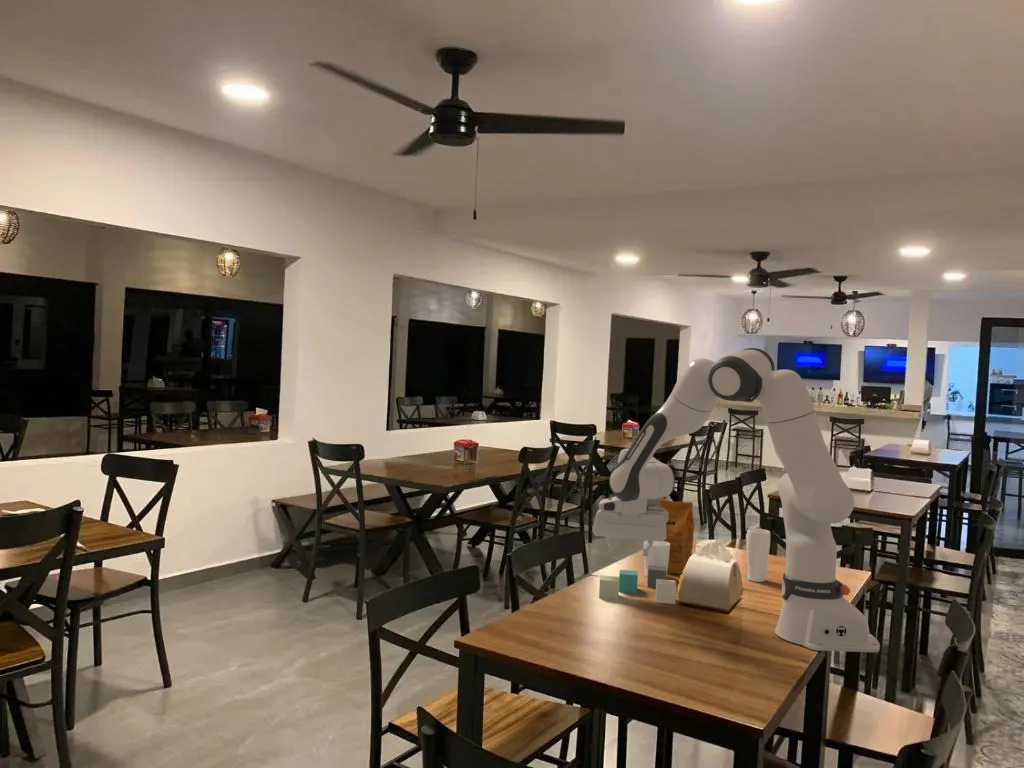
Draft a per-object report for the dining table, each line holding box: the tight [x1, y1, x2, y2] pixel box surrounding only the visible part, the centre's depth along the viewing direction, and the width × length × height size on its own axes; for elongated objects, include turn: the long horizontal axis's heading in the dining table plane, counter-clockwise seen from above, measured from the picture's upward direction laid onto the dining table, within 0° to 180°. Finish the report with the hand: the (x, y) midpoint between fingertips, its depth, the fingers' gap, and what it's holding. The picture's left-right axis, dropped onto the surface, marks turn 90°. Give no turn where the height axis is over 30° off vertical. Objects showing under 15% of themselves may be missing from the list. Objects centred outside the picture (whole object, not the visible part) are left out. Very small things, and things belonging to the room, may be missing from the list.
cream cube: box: [655, 579, 677, 605], centre depth 204 cm, size 5×5×5 cm
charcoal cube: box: [646, 565, 667, 588], centre depth 219 cm, size 5×5×5 cm
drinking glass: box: [746, 528, 771, 583], centre depth 229 cm, size 7×7×15 cm
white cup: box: [643, 540, 670, 578], centre depth 229 cm, size 8×8×10 cm
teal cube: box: [618, 569, 639, 594], centre depth 212 cm, size 5×5×5 cm
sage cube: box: [598, 574, 620, 601], centre depth 205 cm, size 5×5×5 cm
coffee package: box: [657, 497, 695, 576], centre depth 237 cm, size 10×12×22 cm
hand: (628, 554), depth 212 cm, fingers open, 8 cm apart
